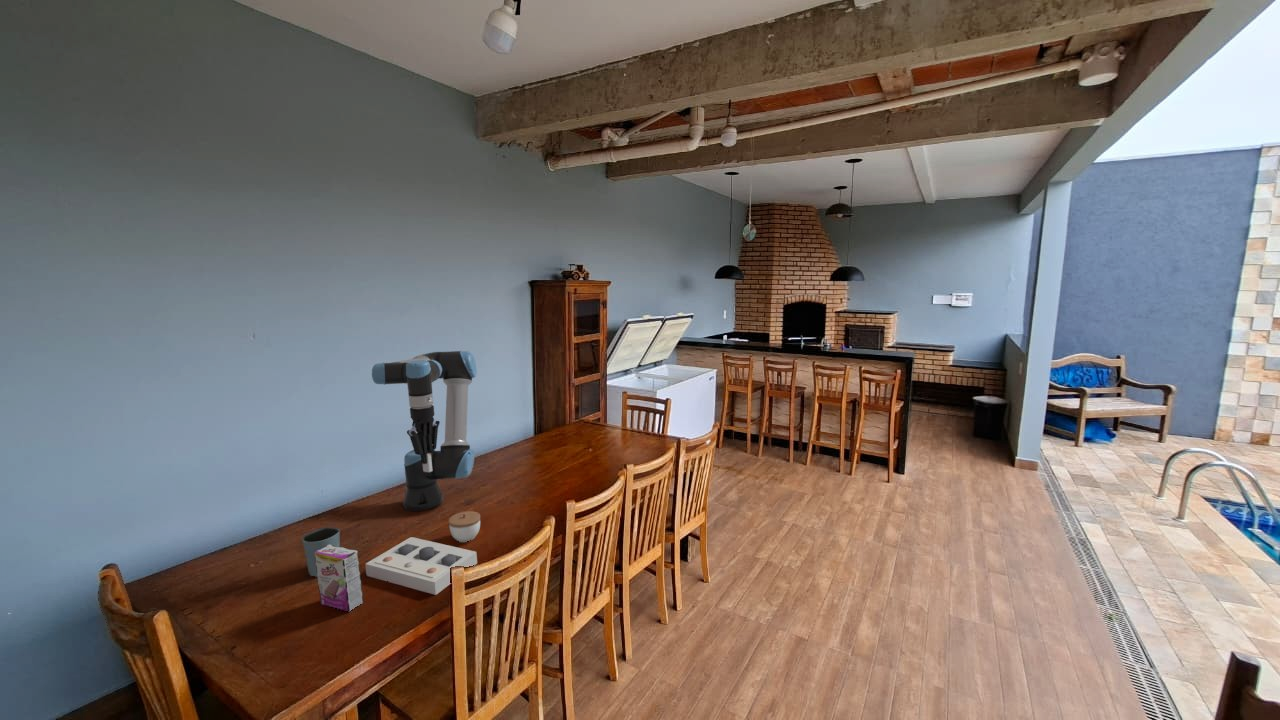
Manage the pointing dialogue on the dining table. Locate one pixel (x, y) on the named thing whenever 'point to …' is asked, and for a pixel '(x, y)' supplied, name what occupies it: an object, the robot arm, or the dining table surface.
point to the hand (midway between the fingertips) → (427, 471)
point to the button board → (419, 566)
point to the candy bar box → (339, 577)
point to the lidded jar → (464, 525)
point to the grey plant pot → (319, 544)
